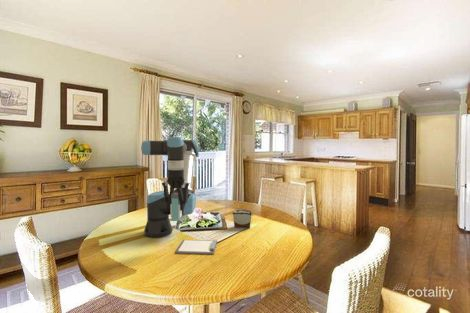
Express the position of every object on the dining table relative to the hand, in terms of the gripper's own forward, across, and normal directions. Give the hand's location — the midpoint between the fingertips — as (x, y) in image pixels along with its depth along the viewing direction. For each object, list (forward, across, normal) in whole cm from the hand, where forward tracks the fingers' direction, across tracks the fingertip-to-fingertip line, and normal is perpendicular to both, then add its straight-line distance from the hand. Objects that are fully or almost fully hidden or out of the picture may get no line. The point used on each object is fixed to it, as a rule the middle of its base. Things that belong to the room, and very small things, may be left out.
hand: (176, 216), depth 116 cm
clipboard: (+15, +10, +1) cm, 19 cm away
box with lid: (+2, 0, 0) cm, 2 cm away
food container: (+16, +30, +33) cm, 47 cm away
